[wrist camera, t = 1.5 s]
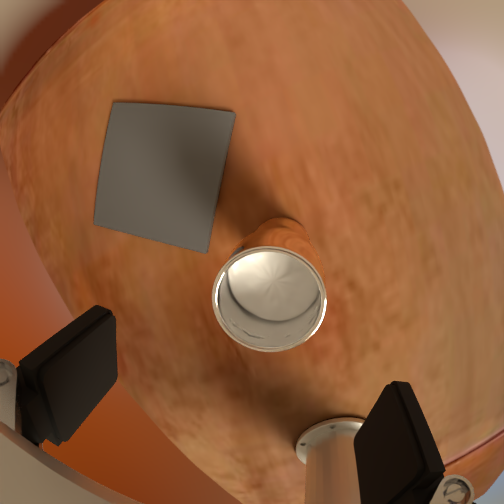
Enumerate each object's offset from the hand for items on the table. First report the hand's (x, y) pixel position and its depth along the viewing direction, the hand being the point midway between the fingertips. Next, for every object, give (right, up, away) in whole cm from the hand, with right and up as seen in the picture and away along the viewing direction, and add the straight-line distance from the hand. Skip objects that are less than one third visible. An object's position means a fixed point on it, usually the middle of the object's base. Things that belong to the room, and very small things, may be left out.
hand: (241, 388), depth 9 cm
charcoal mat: (-10, +13, +22) cm, 28 cm away
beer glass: (+3, +5, +22) cm, 23 cm away
